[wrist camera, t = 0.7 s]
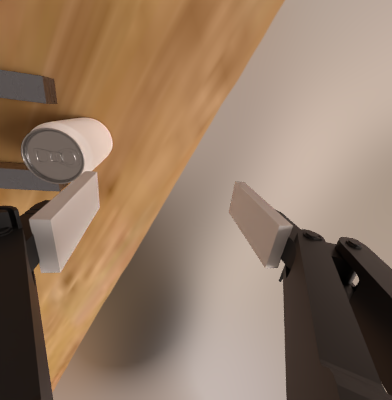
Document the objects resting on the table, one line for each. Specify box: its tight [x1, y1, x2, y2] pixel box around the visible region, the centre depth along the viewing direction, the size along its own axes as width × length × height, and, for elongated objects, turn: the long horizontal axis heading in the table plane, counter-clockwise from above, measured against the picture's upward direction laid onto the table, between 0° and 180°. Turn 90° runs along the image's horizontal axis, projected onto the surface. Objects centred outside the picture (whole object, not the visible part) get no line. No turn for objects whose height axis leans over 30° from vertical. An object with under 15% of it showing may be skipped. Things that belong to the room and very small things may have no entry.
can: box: [21, 117, 113, 184], centre depth 25 cm, size 6×6×12 cm
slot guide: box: [0, 70, 68, 191], centre depth 27 cm, size 15×12×3 cm
